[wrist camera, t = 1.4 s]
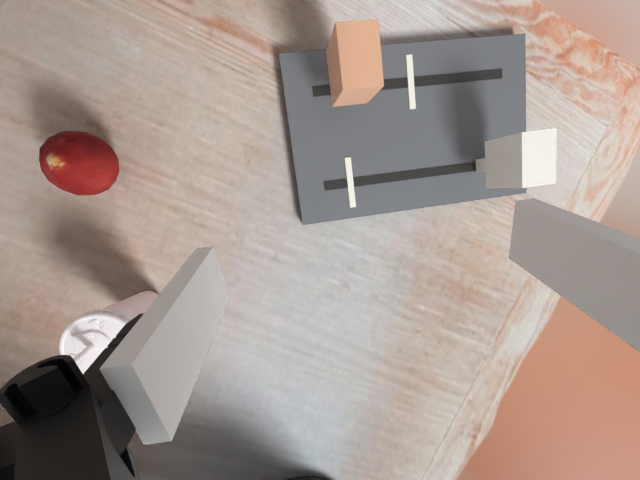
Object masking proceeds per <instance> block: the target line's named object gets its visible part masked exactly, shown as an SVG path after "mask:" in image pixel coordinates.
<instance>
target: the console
mask: <svg viewBox="0 0 640 480" xmlns="http://www.w3.org/2000/svg"><path fill="white" fill-rule="evenodd" d="M381 56H382V68H383V79H384V87H383V88H382V89H381V90H380V91H379V92H378V93H377V94H376V95H375V96H374V97H373V98H372V99H371V100H370V101H369V102H368V103H366V104H356V105H346V106H336V107H332V100H331V91H330V82H329V73H328V65H327V56H326V50H315V51H303V52H290V53H279V63H280V70H281V77H282V84H283V91H284V99H285V106H286V113H287V120H288V127H289V134H290V141H291V149H292V156H293V163H294V170H295V177H296V184H297V192H298V199H299V206H300V213H301V220H302V224H303V225H306V224H313V223H320V222H327V221H334V220H341V219H348V218H355V217H362V216H369V215H376V214H383V213H390V212H397V211H403V210H410V209H417V208H424V207H431V206H438V205H445V204H452V203H459V202H466V201H473V200H480V199H487V198H494V197H501V196H508V195H515V194H522V193H526V188H490V189H486V172H485V173H476V159H482V158H485V141H488V140H492V139H497V138H501V137H505V136H509V135H513V134H517V133H521V132H526V70H525V34H514V35H501V36H489V37H476V38H464V39H452V40H439V41H427V42H414V43H402V44H389V45H381Z"/></svg>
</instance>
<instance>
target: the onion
mask: <svg viewBox="0 0 640 480" xmlns="http://www.w3.org/2000/svg"><path fill="white" fill-rule="evenodd" d="M39 161H40V166H41V170H42V172H43V173H44V175H45V176H46V178H47V179H48V180H49V181H50V182H51V183H53V184H54V185H56V186H57V187H59V188H60V189H62V190H64V191H67V192H70V193H73V194H76V195H95V194H99V193H101V192H103V191H106V190H108V189H109V188H110V187H111V186H112V185H113V183H114V182H115V181H116V178H117V176H118V173H119V162H118V158H117V156H116V154H115V153H114V151H113V149H112V148H111V147H110V146H109V145H108V144H107V143H105V142H104V141H103V140H101V139H100V138H98V137H96V136H93V135H91V134H89V133H86V132H79V131H64V132H61V133H58V134H56V135H54V136H51V137H49V138H48V139H47V140H46V141H45V143H44V144H43V145H42V146H41V148H40V155H39Z"/></svg>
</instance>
